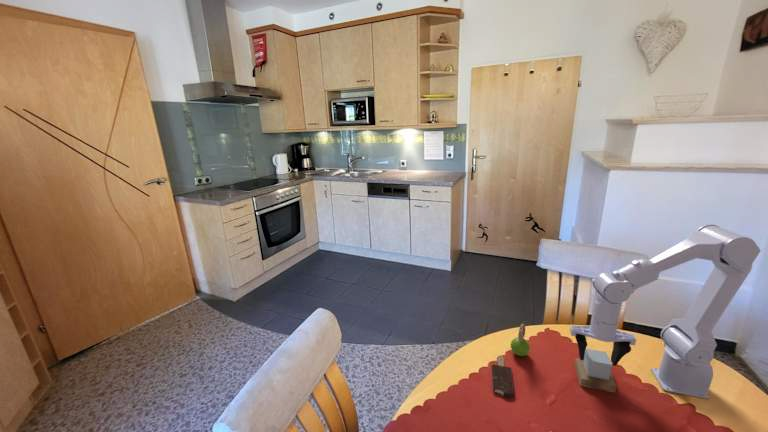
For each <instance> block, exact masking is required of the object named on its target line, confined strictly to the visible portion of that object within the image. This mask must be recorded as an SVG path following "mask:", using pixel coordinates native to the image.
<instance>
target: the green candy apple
mask: <svg viewBox="0 0 768 432" xmlns="http://www.w3.org/2000/svg"><path fill="white" fill-rule="evenodd" d="M525 334H526V325H525V323H521V324H520V326H519V329H518V335H517V337H515V338H513V339H512V340H511V342H510V349H511V351H512V352H513V354H514V355H516V356H519V357H525V356H527V355H528V354H529V353H530V350H531V346H530V344H529V341H528V340H527V339H525Z"/></svg>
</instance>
